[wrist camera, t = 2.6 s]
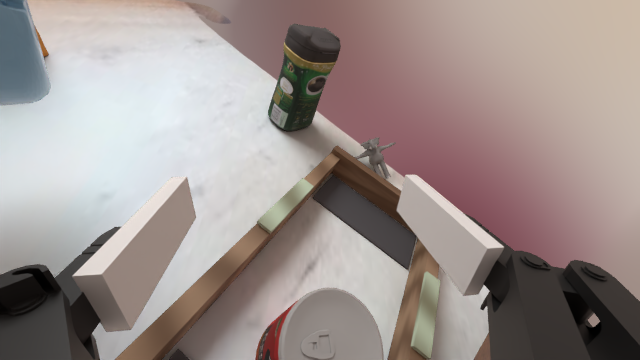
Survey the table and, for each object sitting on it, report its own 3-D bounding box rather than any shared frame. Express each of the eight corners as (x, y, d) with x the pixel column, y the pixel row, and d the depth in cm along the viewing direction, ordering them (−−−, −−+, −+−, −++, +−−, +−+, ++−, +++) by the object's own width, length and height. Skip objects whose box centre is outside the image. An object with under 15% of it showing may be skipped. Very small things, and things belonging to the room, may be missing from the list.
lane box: (336, 701, 14) (381, 810, 10) (70, 419, 16) (34, 429, 13) (428, 237, 42) (448, 225, 39) (326, 163, 45) (336, 145, 42)
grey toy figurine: (362, 187, 45) (346, 146, 46) (361, 189, 51) (347, 152, 52) (411, 169, 44) (393, 128, 45) (404, 173, 50) (388, 136, 51)
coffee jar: (294, 106, 54) (322, 20, 41) (315, 127, 52) (352, 43, 39) (260, 112, 48) (281, 12, 35) (282, 136, 45) (314, 39, 33)
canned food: (246, 331, 23) (267, 307, 16) (312, 303, 28) (355, 273, 20) (264, 429, 20) (304, 460, 12) (338, 380, 24) (403, 380, 16)
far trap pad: (406, 269, 36) (408, 268, 36) (312, 197, 38) (313, 196, 38) (415, 236, 41) (416, 235, 41) (332, 175, 43) (332, 174, 43)
